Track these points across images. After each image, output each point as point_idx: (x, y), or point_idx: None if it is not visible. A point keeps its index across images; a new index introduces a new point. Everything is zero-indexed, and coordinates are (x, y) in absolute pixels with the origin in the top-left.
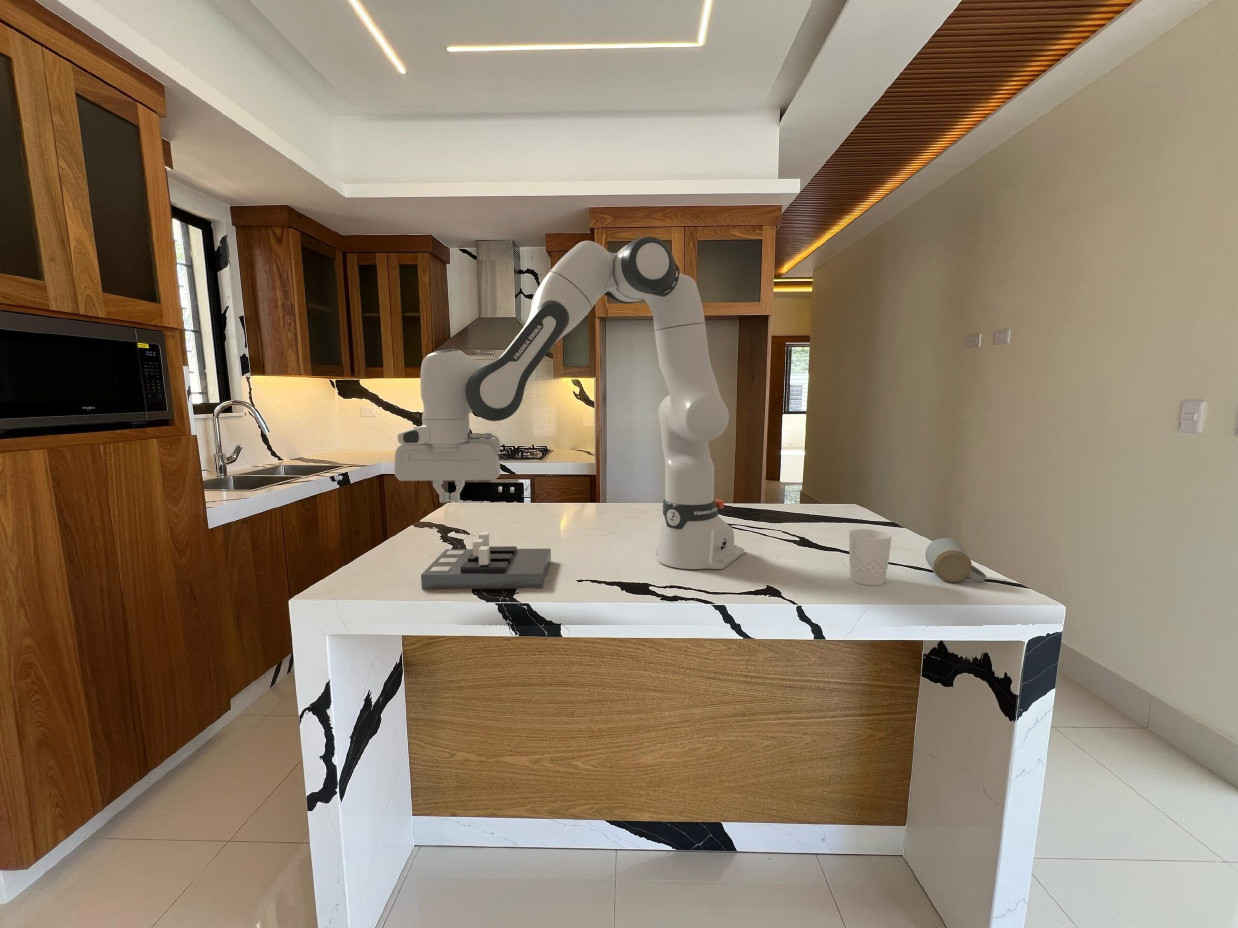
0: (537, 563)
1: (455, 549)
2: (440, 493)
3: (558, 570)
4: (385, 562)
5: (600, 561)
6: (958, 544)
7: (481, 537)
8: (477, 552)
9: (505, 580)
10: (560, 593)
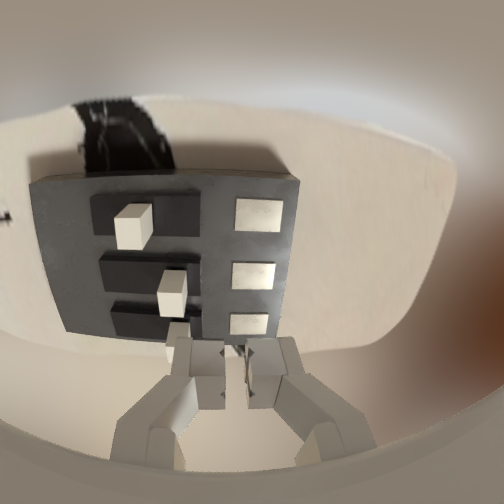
0: (51, 248)
1: None
2: (297, 378)
3: None
4: (374, 319)
5: (14, 303)
6: None
7: None
8: (172, 275)
9: (98, 174)
10: (19, 153)
